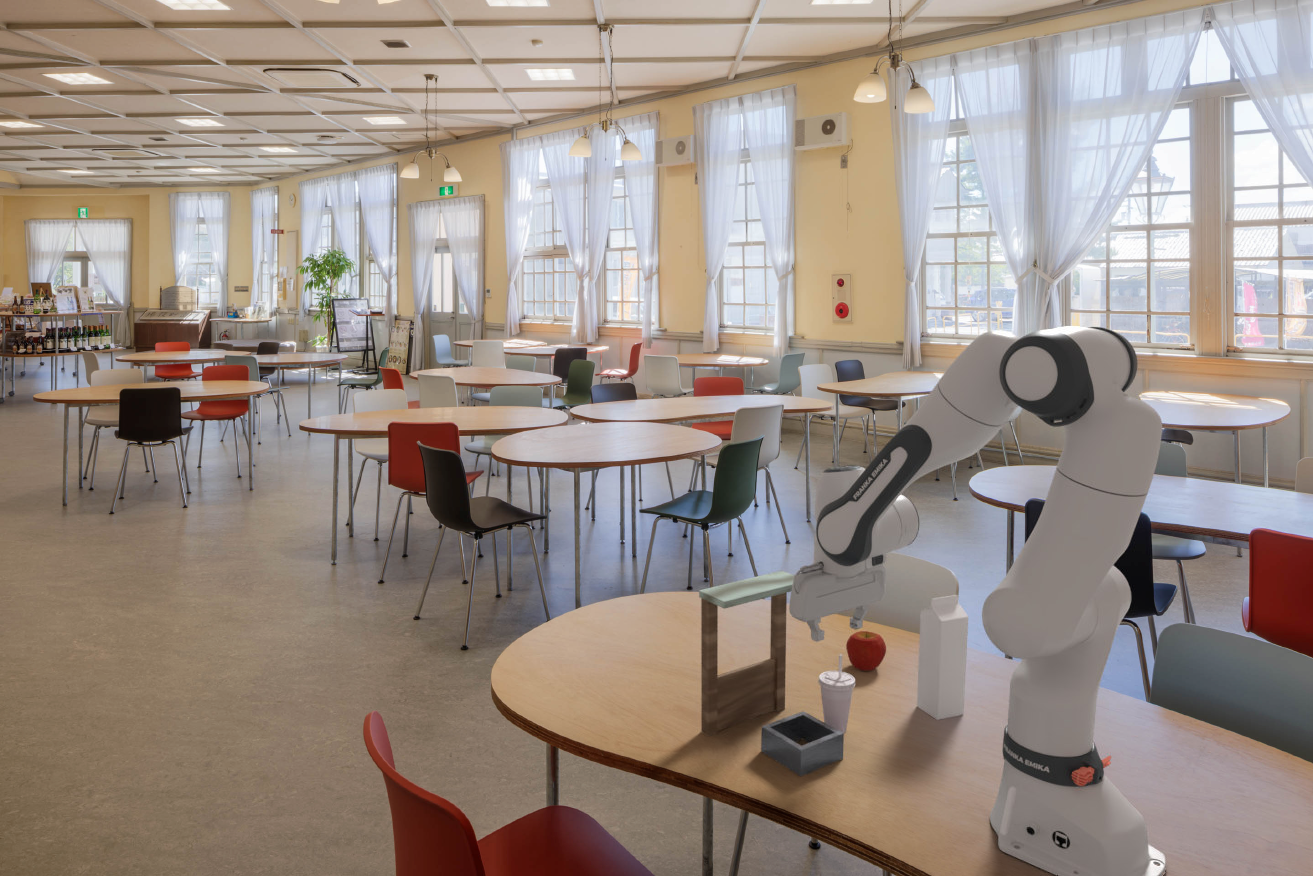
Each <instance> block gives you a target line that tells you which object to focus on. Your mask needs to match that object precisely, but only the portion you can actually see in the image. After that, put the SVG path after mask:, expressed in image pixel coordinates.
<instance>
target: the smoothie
mask: <svg viewBox="0 0 1313 876" xmlns="http://www.w3.org/2000/svg"><path fill="white" fill-rule="evenodd" d="M817 682H818V685H820V694H821V695H820V696H821V703H822V712H823V722H824V723H826V724H828V725H830V726H831V727H833V728H835V729H837V730H839V731H840V732H842V733H844V734H845V733H846V732H847V728H848V727H847V726H848V723H849V722H848V721H849V714H850V708H851V702H852V697H853V691H854V688H855V686H856V678H855V677H854V676H853V675H852V674H851V673H847V672H846V671H843V654H838V670H827V671H824V672H822V673H821V674H819V676H818V681H817Z"/></svg>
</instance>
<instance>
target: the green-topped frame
mask: <svg viewBox="0 0 1313 876" xmlns="http://www.w3.org/2000/svg"><path fill="white" fill-rule="evenodd" d="M794 576H795V574H791V573H789V572H787V571H783V570H778V571H774V572H771V573H766V574H762V575H758V576H753V577H750V578H745V579H742V580H741V579H740V580H737V581H732V582H728V583H725V584H724V583H723V584H721V585H716V586H712V587H708V588H703V589H700V590H698V597H699V598H700V599H701V600H700V601H701V603H700V607H701V609H700V610H701V617H700V619H701V623H700V625H701V628H700V630H701V632H700V633H701V637H700V638H701V641H700V643H701V645H700V646H701V648H700V649H701V653H700V654H701V657H700V658H701V659H700V660H701V663H700V664H701V668H700V670H701V674H700V675H701V677H700V679H701V683H700V684H701V687H700V688H701V689H700V690H701V698H700V701H701V711H700V712H701V733H703V734H704V735H705V736H707V737H710V736H713V735H715V734H716V735H717V733H718V731H721V730H724V729H727V728H730V727H732V726H736V725H738V724H741V723H743V722H746V721H749V720H752V719H754V718H757V717H759V716H763V715H766V714H769V713H771V712H773V711H774V712H780V711H782V710H785V709H786V672H787V671H786V665H787V664H786V663H787V661H786V659H787V658H786V657H787V656H786V655H787V605H788V604H787V603H788V599H787V594H788V593H791V590H792V584H793V581H794ZM767 598H770V644H769V645H770V656H769V657H770V658H769V659H766V660H762V661H759V662H756V663H753V664H749V665H746V666H743V667H739V668H737V669H734V670H733V669H732V670H730V671H726V672H724V673H720V674H718V671H719V670H718V667H719V666H718V652H719V651H718V646H719V645H718V639H719V638H718V637H719V636H718V634H719V631H718V623H719V621H718V619H719V617H718V616H719V615H718V613H719V612H718V611H719V610H718V607H720V608H721V609H724V610H725V609H729V608H733V607H737V606H741V605H744V604H748V603H752V602H755V601H760V600H763V599H767Z"/></svg>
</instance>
